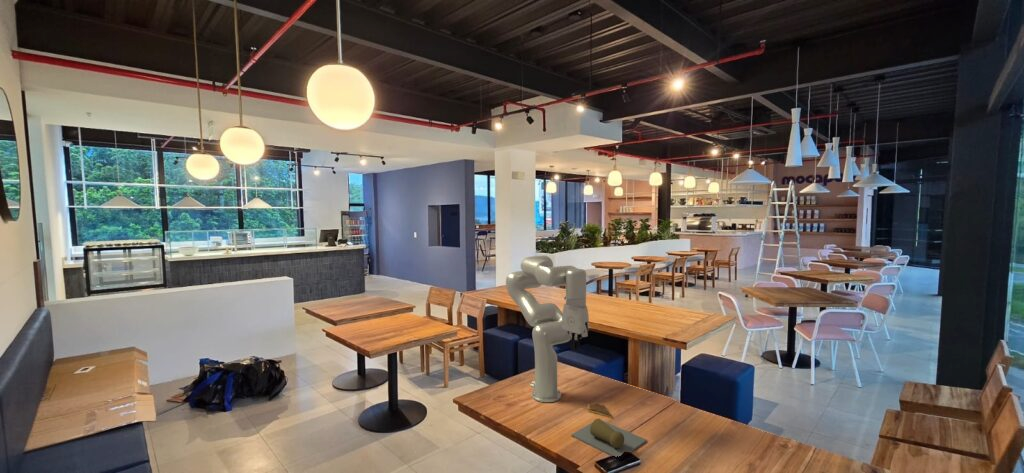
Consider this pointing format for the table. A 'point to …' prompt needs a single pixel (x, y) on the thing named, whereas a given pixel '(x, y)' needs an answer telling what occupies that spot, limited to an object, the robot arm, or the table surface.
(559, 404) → the table surface
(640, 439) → the slate mat
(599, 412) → the shard
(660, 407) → the table surface
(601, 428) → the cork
